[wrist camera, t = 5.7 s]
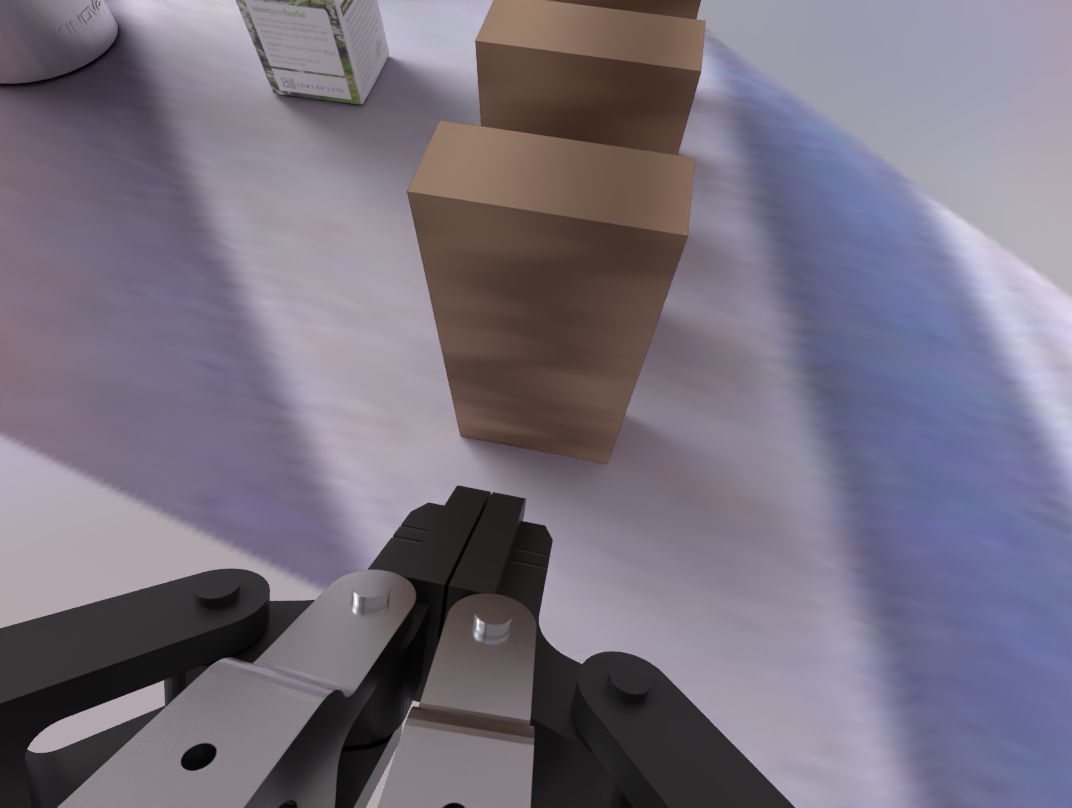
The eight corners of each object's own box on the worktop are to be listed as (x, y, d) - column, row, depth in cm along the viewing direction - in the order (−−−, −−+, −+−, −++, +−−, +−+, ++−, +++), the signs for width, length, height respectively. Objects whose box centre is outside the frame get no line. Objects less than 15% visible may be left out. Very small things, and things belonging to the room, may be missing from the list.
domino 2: (460, 435, 22) (406, 191, 12) (475, 384, 23) (439, 120, 13) (607, 463, 22) (688, 235, 11) (615, 409, 23) (694, 158, 13)
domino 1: (494, 319, 25) (475, 40, 15) (506, 279, 26) (496, -7, 16) (624, 342, 25) (701, 71, 14) (630, 299, 26) (705, 20, 15)
